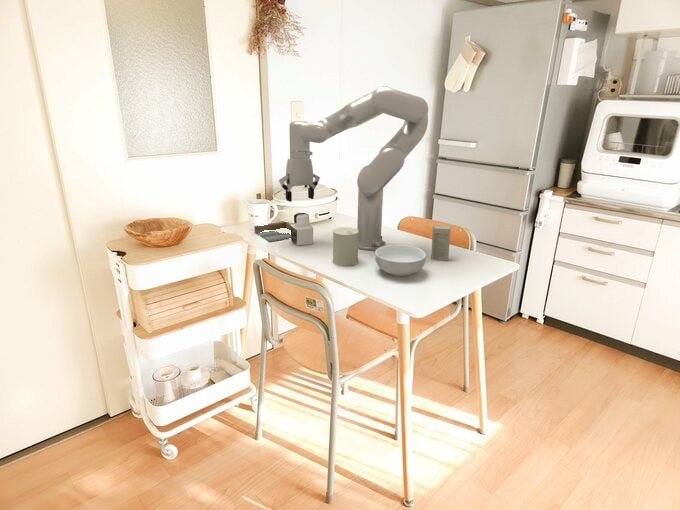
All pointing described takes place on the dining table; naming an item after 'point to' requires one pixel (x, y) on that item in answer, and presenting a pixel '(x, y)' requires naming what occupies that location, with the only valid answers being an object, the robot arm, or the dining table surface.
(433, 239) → the skincare box
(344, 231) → the can
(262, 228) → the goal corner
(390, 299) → the dining table surface
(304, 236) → the medicine bottle
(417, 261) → the cereal bowl
